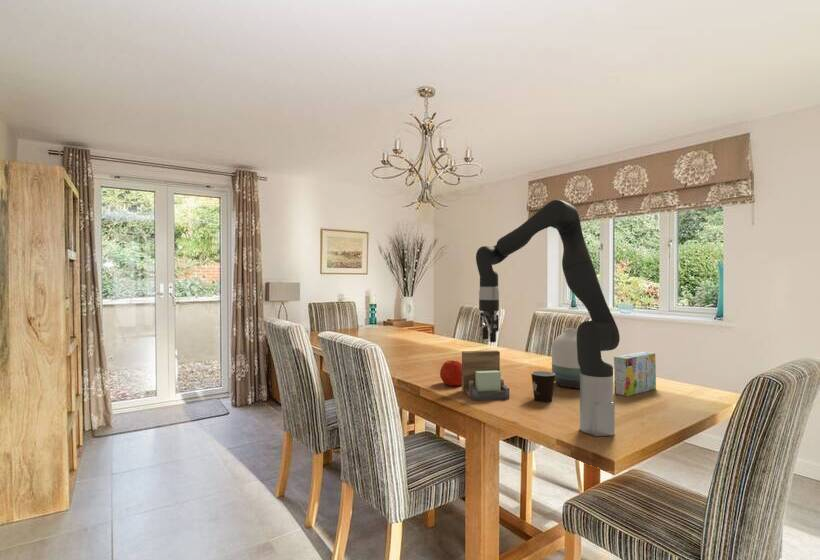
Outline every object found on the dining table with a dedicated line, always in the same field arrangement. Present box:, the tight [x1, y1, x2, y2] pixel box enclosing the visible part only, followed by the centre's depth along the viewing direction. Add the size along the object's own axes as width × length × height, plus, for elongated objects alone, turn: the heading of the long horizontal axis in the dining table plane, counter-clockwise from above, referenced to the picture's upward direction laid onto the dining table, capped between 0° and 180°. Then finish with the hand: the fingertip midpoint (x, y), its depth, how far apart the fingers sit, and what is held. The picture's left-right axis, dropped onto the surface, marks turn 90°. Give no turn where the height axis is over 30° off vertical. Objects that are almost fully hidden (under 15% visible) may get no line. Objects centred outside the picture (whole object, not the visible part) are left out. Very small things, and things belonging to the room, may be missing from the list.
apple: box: [439, 360, 462, 387], centre depth 189 cm, size 11×11×11 cm
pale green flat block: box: [476, 370, 502, 392], centre depth 169 cm, size 3×9×10 cm, turn 99°
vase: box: [551, 327, 580, 389], centre depth 187 cm, size 17×17×24 cm
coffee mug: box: [531, 370, 555, 403], centre depth 167 cm, size 12×9×10 cm
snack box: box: [613, 351, 657, 397], centre depth 178 cm, size 21×6×15 cm, turn 122°
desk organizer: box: [461, 349, 510, 401], centre depth 173 cm, size 14×15×16 cm
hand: (488, 340), depth 169 cm, fingers open, 8 cm apart
